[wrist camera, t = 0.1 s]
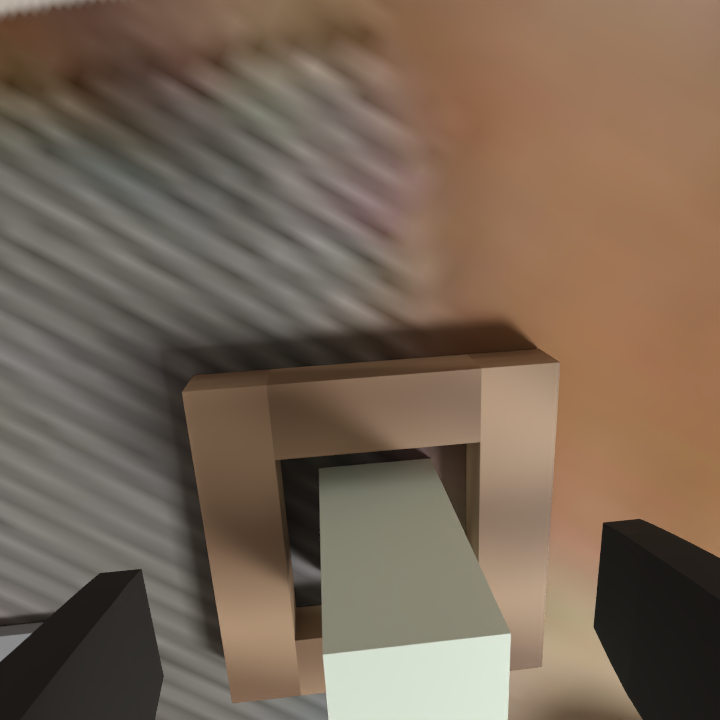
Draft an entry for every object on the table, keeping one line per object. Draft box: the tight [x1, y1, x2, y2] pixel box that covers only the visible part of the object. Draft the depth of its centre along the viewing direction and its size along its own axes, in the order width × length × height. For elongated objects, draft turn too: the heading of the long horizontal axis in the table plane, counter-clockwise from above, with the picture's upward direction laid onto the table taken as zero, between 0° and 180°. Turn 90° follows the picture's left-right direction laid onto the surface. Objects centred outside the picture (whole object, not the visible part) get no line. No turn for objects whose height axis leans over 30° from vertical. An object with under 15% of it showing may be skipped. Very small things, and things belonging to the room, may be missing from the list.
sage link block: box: [319, 458, 511, 720], centre depth 15 cm, size 4×4×8 cm
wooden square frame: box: [182, 349, 560, 703], centre depth 18 cm, size 12×12×2 cm
